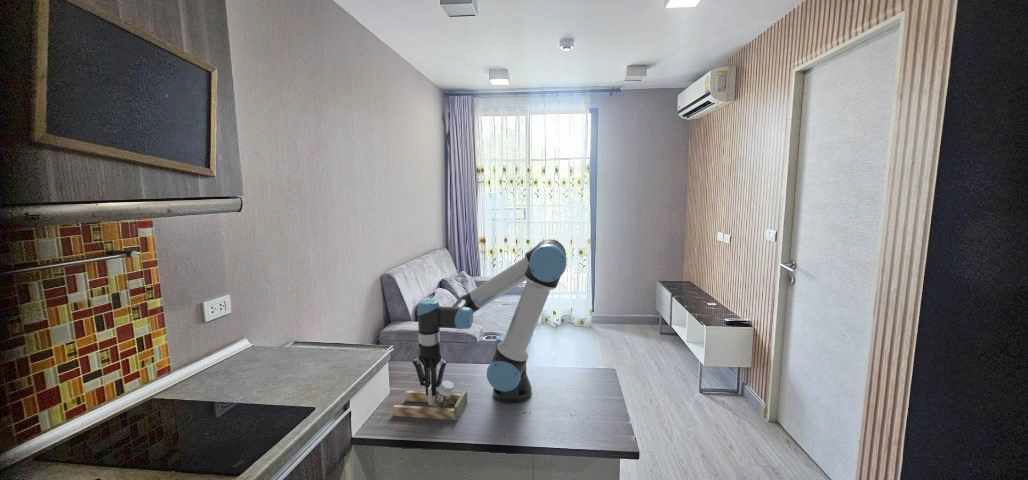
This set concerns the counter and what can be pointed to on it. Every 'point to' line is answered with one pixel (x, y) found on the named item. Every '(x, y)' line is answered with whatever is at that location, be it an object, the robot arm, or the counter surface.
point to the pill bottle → (443, 395)
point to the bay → (431, 412)
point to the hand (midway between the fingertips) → (431, 403)
